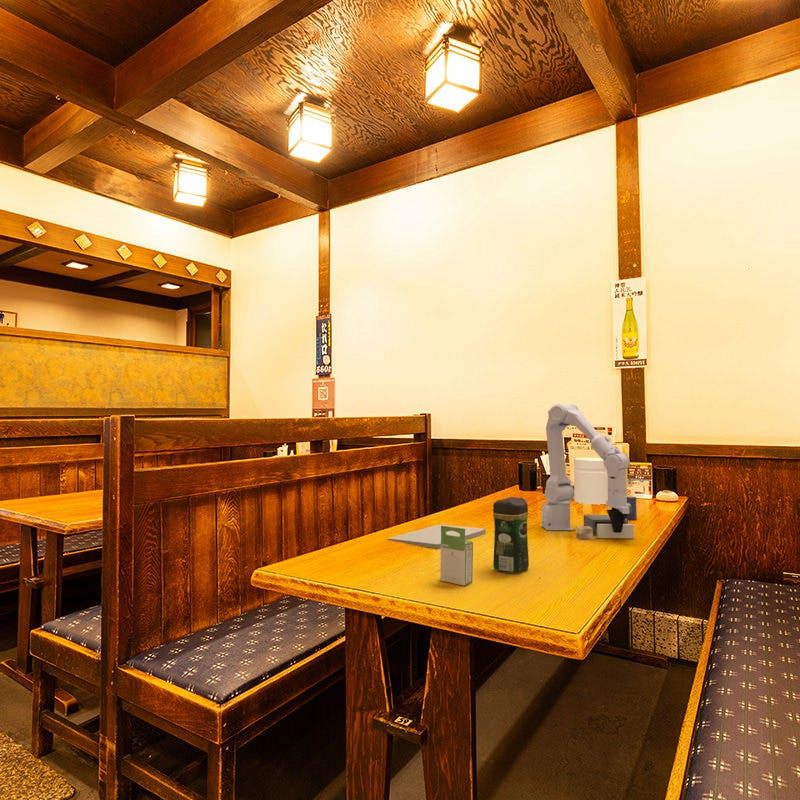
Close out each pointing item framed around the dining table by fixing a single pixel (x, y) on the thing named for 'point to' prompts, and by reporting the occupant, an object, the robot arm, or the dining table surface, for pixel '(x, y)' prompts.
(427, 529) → the electronic device
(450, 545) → the ink box
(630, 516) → the flask
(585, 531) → the pedestal
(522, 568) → the coffee jar
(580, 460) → the canister
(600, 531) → the tray
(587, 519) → the block
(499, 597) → the dining table surface
